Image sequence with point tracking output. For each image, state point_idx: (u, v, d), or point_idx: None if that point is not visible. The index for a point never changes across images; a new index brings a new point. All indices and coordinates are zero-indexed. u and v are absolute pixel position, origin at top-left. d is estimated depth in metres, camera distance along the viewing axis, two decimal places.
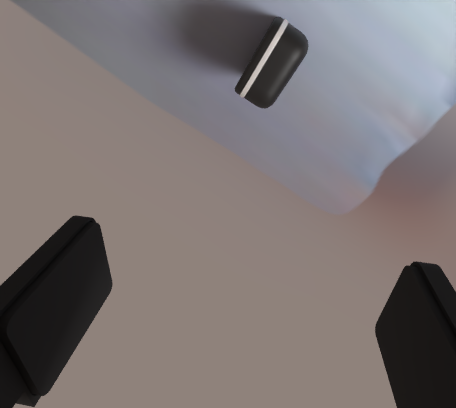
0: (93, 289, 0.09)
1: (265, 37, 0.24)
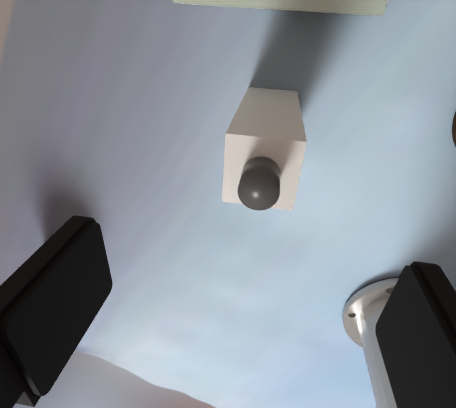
0: (93, 289, 0.09)
1: None
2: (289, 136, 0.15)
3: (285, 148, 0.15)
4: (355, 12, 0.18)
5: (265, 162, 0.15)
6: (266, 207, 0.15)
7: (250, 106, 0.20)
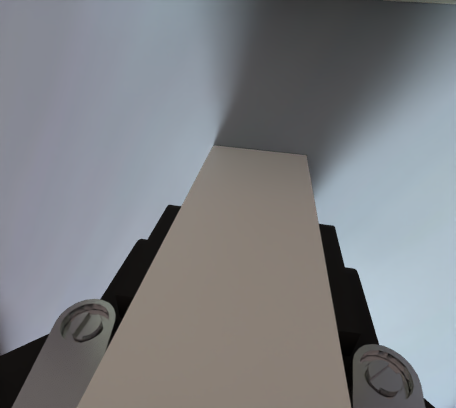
0: None
1: None
2: None
3: None
4: None
5: None
6: None
7: (194, 236, 0.08)
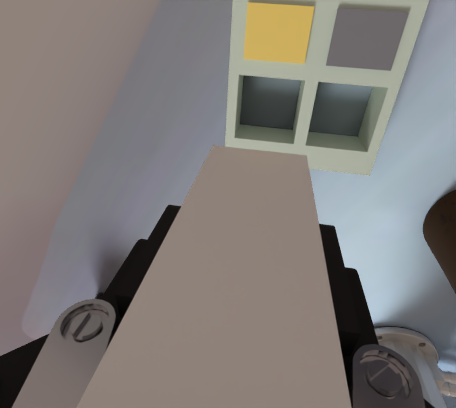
0: None
1: None
2: None
3: None
4: (350, 172, 0.27)
5: None
6: None
7: (194, 236, 0.08)
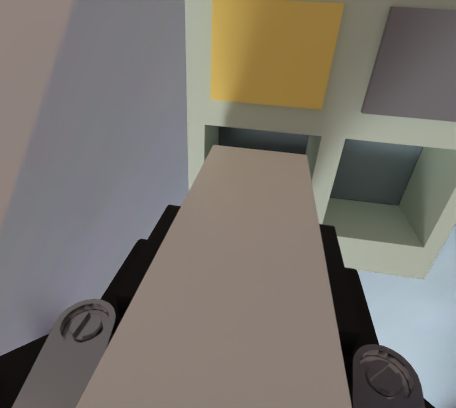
0: None
1: None
2: None
3: None
4: (392, 274, 0.17)
5: None
6: None
7: (194, 236, 0.08)
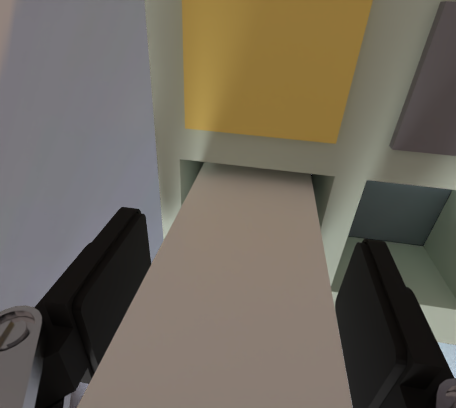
0: (139, 277, 0.10)
1: None
2: None
3: None
4: None
5: None
6: None
7: (203, 214, 0.09)
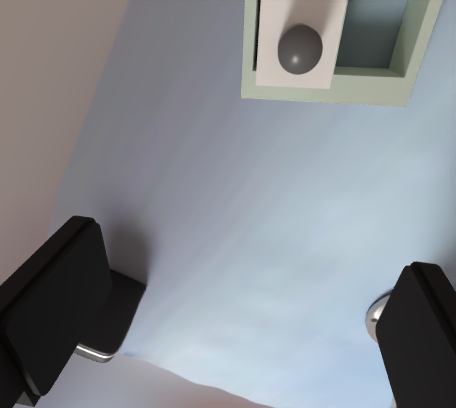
0: (93, 289, 0.09)
1: (103, 351, 0.36)
2: None
3: (323, 10, 0.14)
4: (384, 105, 0.24)
5: (304, 24, 0.14)
6: (307, 70, 0.14)
7: None
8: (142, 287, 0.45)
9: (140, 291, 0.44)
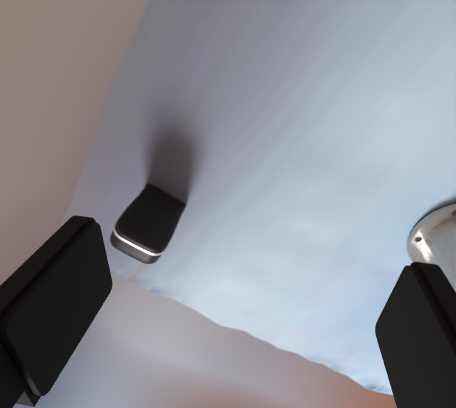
0: (93, 289, 0.09)
1: (151, 247, 0.36)
2: None
3: None
4: None
5: None
6: None
7: None
8: (182, 204, 0.45)
9: (180, 207, 0.44)
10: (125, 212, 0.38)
